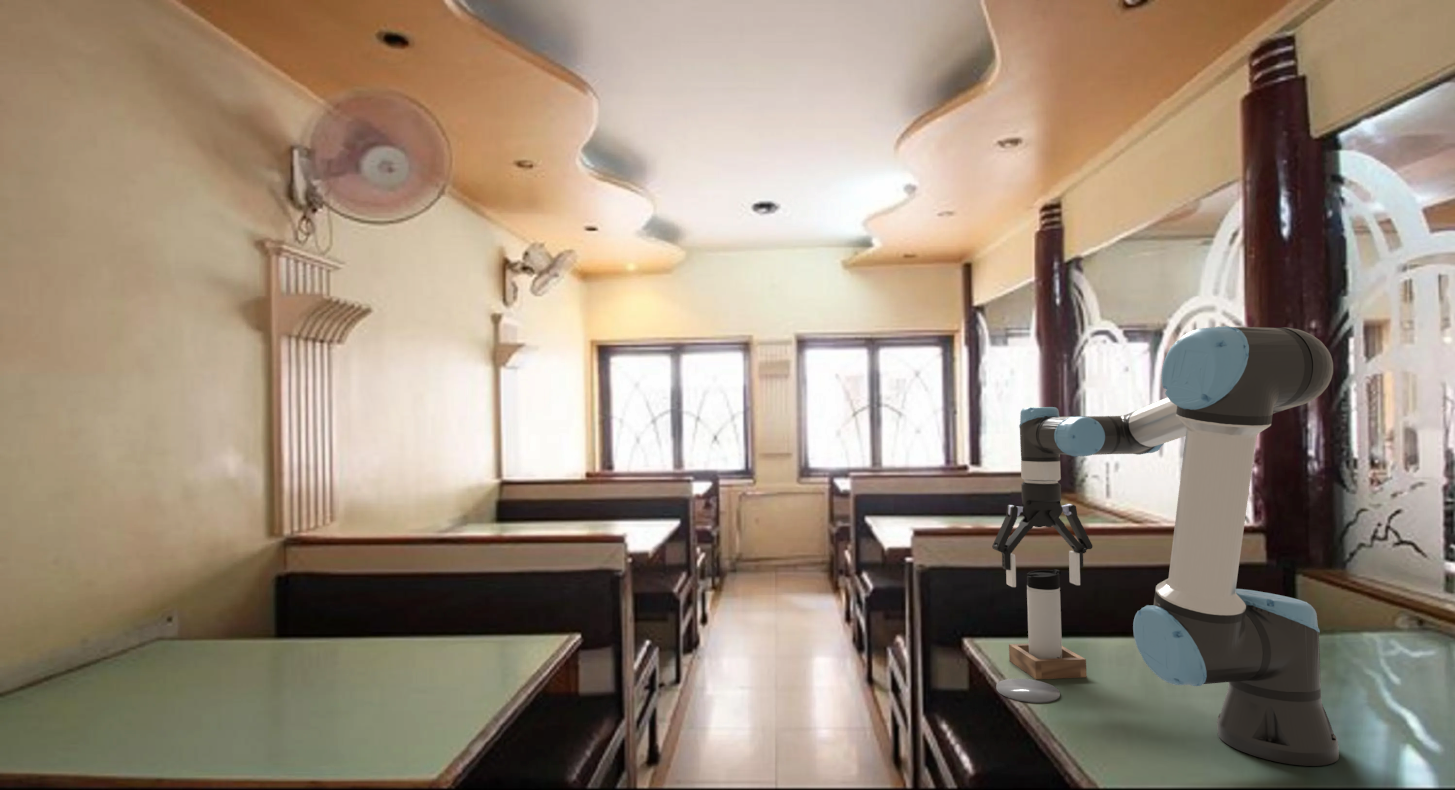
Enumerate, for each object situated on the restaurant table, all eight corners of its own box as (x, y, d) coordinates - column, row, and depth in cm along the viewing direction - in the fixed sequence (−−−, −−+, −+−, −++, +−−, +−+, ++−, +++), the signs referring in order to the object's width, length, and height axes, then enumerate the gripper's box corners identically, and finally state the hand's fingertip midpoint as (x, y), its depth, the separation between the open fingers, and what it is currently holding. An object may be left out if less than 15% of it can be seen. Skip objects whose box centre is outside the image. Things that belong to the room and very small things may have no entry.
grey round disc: (1071, 701, 134) (1071, 698, 134) (1012, 704, 133) (1012, 700, 133) (1041, 680, 144) (1041, 677, 144) (986, 682, 144) (986, 679, 144)
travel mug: (1069, 673, 148) (1066, 573, 149) (1036, 674, 148) (1033, 573, 149) (1056, 663, 154) (1053, 567, 155) (1024, 664, 154) (1021, 567, 155)
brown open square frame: (1086, 677, 146) (1086, 659, 146) (1035, 679, 145) (1035, 661, 145) (1056, 659, 157) (1056, 642, 157) (1009, 660, 157) (1008, 644, 157)
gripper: (1088, 478, 158) (1090, 579, 157) (974, 480, 156) (976, 582, 155) (1109, 482, 150) (1111, 587, 149) (990, 484, 148) (992, 590, 148)
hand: (1043, 584), depth 152 cm, fingers open, 13 cm apart
